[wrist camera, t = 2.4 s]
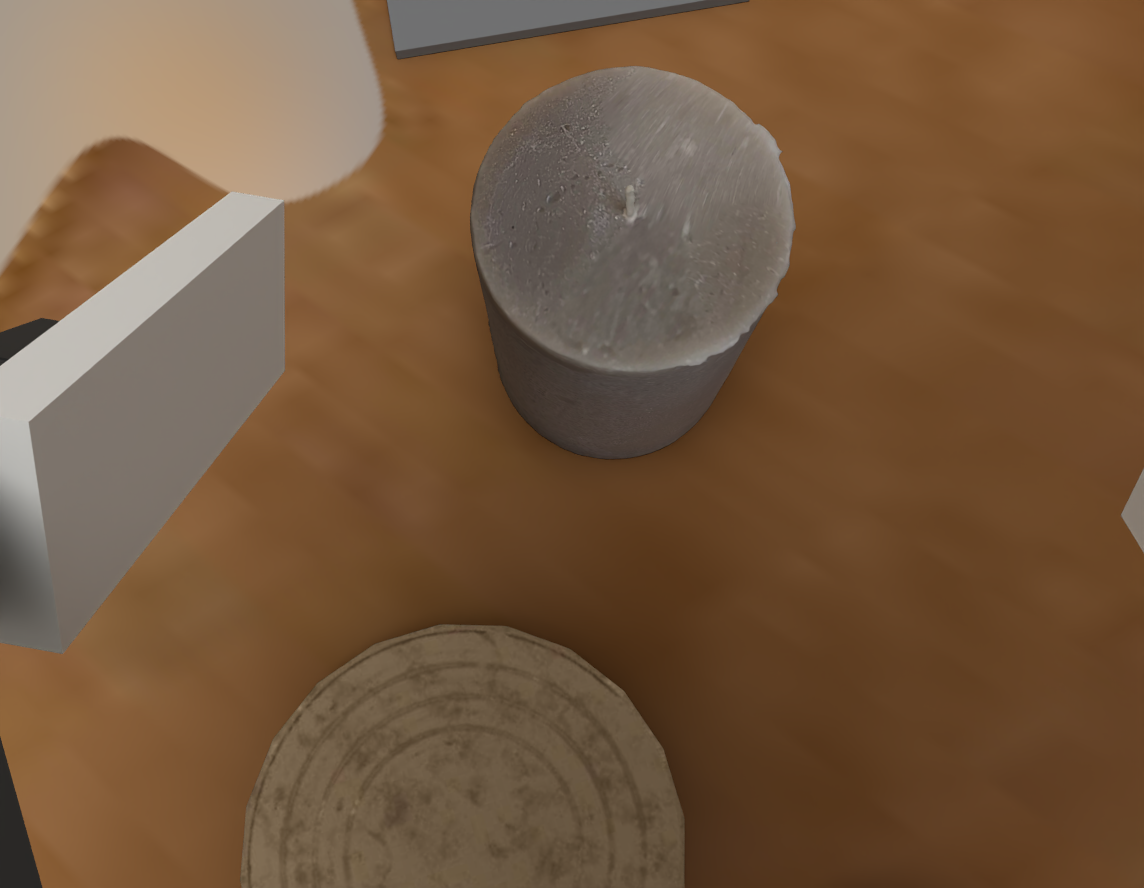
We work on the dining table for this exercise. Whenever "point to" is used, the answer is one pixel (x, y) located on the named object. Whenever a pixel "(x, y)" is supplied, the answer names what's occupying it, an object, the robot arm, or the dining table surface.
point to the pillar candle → (626, 254)
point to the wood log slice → (464, 774)
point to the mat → (513, 19)
